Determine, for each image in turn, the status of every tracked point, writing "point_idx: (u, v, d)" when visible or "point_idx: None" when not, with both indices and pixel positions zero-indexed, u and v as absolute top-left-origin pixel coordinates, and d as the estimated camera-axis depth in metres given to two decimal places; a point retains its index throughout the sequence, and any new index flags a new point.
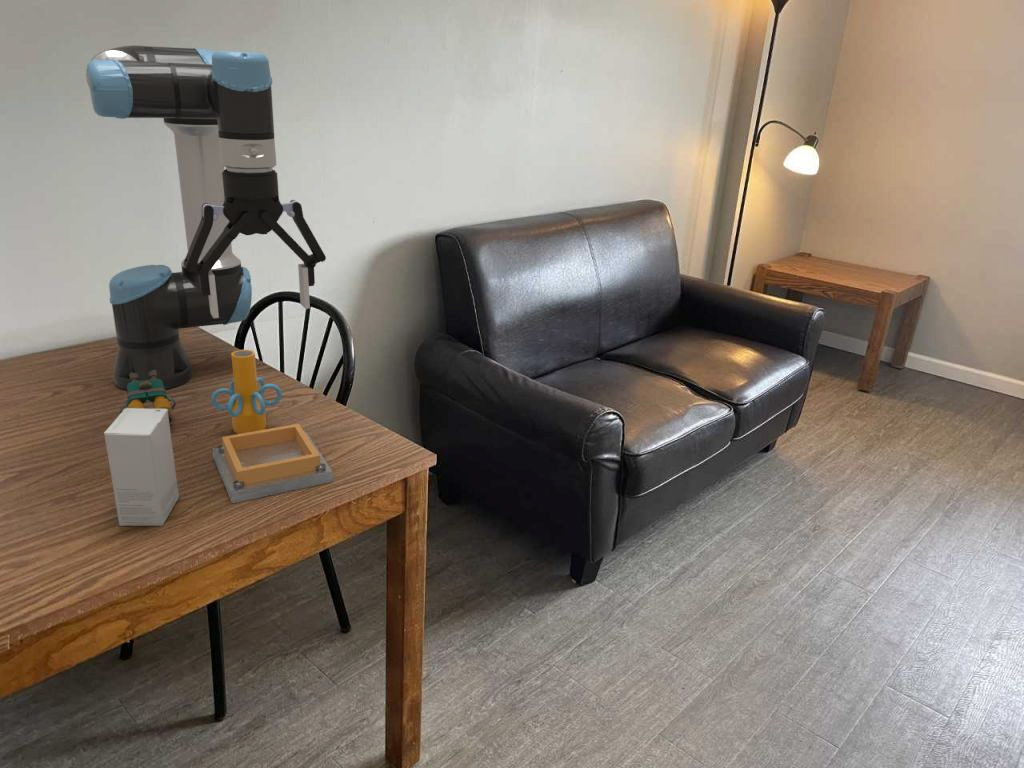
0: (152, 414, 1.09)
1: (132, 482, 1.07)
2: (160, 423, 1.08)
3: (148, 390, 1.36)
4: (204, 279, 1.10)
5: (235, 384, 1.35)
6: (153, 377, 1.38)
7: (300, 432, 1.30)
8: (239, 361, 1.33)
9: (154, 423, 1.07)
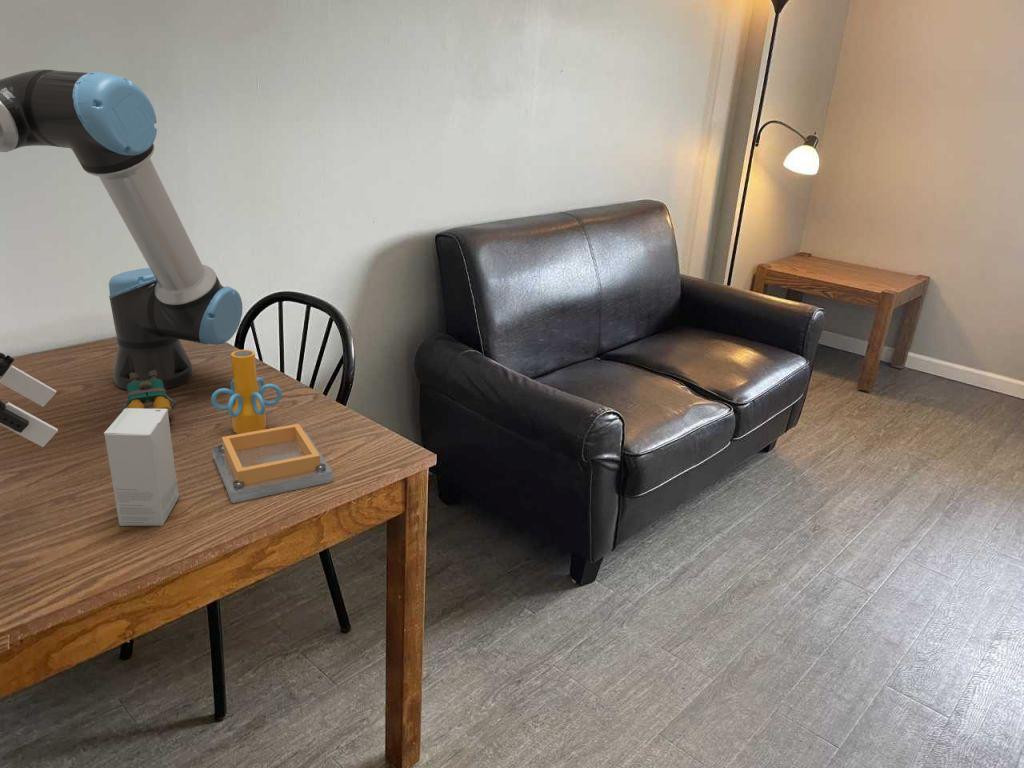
0: (152, 414, 1.09)
1: (132, 482, 1.07)
2: (160, 423, 1.08)
3: (148, 390, 1.36)
4: None
5: (235, 384, 1.35)
6: (153, 377, 1.38)
7: (300, 432, 1.30)
8: (239, 361, 1.33)
9: (154, 423, 1.07)
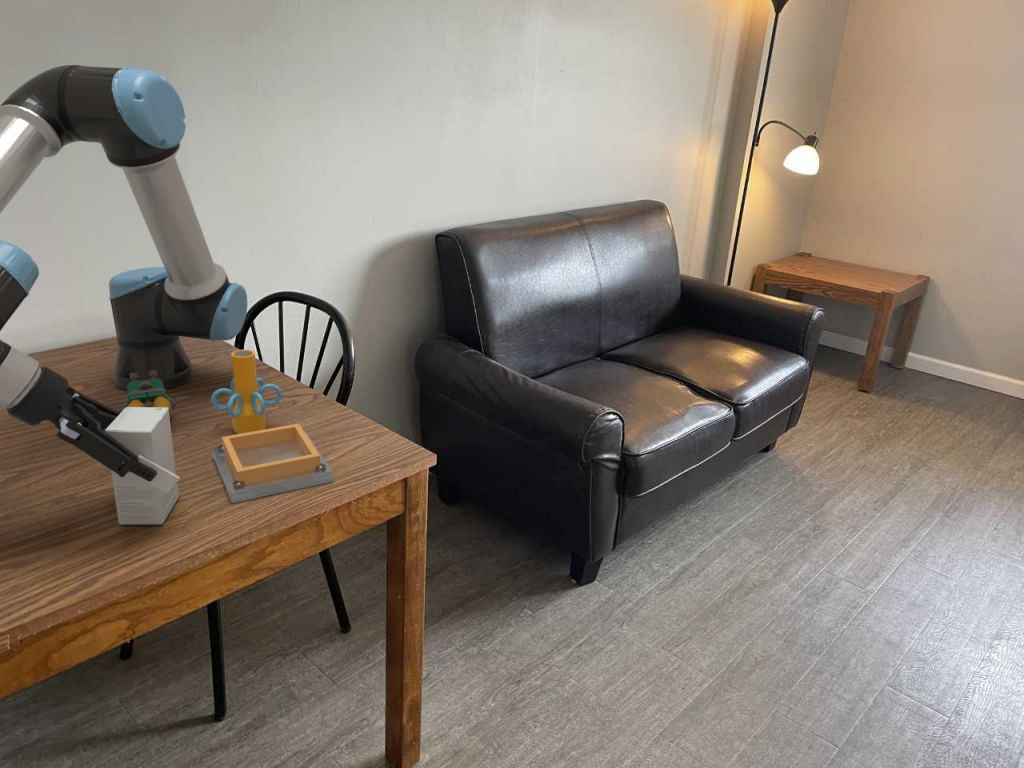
0: (153, 412, 1.10)
1: (132, 479, 1.07)
2: (161, 422, 1.09)
3: (148, 390, 1.36)
4: None
5: (235, 384, 1.35)
6: (153, 377, 1.38)
7: (300, 432, 1.30)
8: (239, 361, 1.33)
9: (155, 421, 1.07)
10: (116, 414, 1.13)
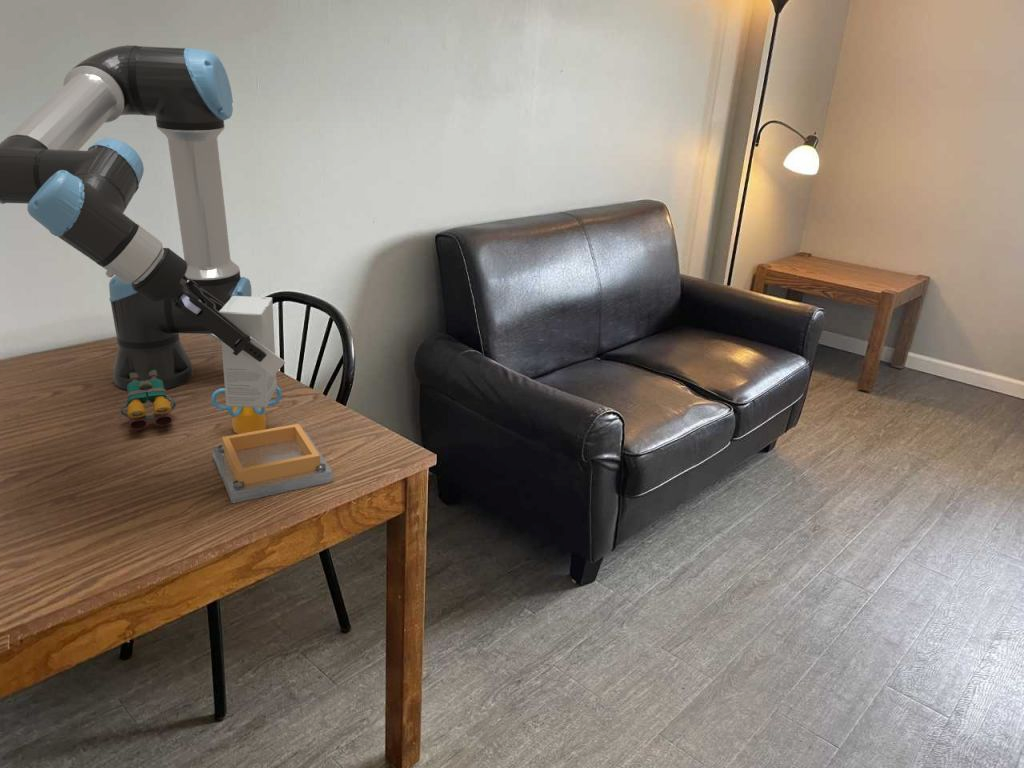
0: (259, 300, 1.16)
1: (242, 361, 1.13)
2: (268, 308, 1.14)
3: (148, 390, 1.36)
4: None
5: None
6: (153, 377, 1.38)
7: (300, 432, 1.30)
8: None
9: (263, 307, 1.13)
10: (222, 304, 1.19)
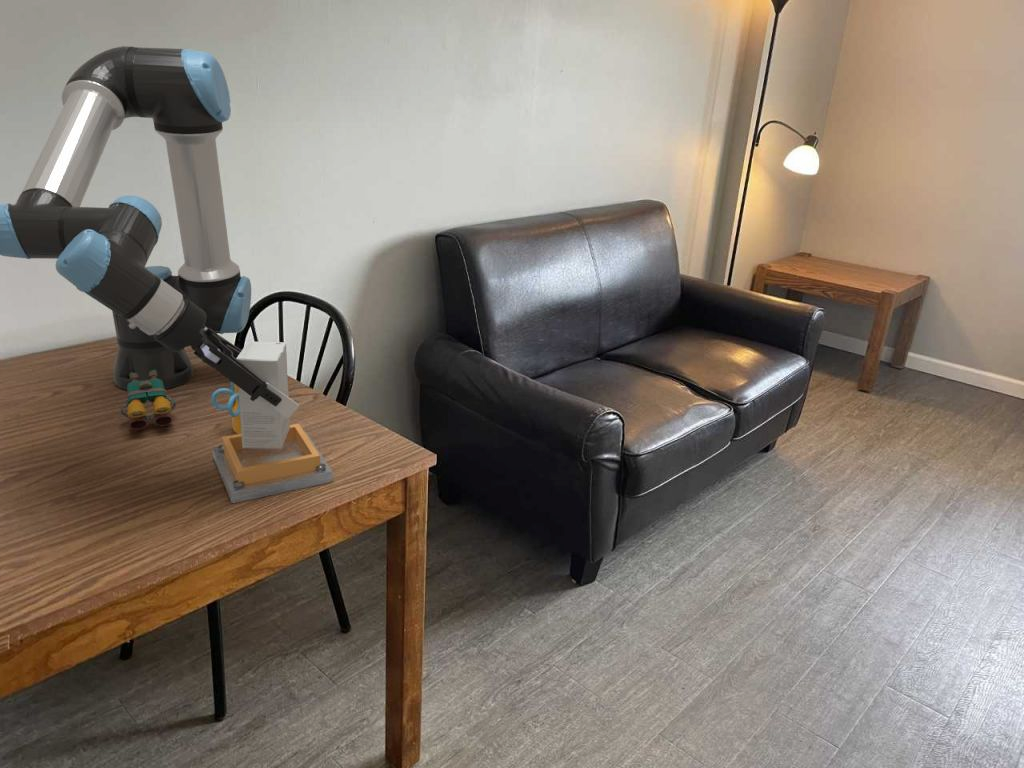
0: (274, 345, 1.20)
1: (258, 405, 1.17)
2: (282, 354, 1.19)
3: (148, 390, 1.36)
4: None
5: None
6: (153, 377, 1.38)
7: (300, 432, 1.30)
8: None
9: (278, 352, 1.18)
10: (237, 349, 1.23)
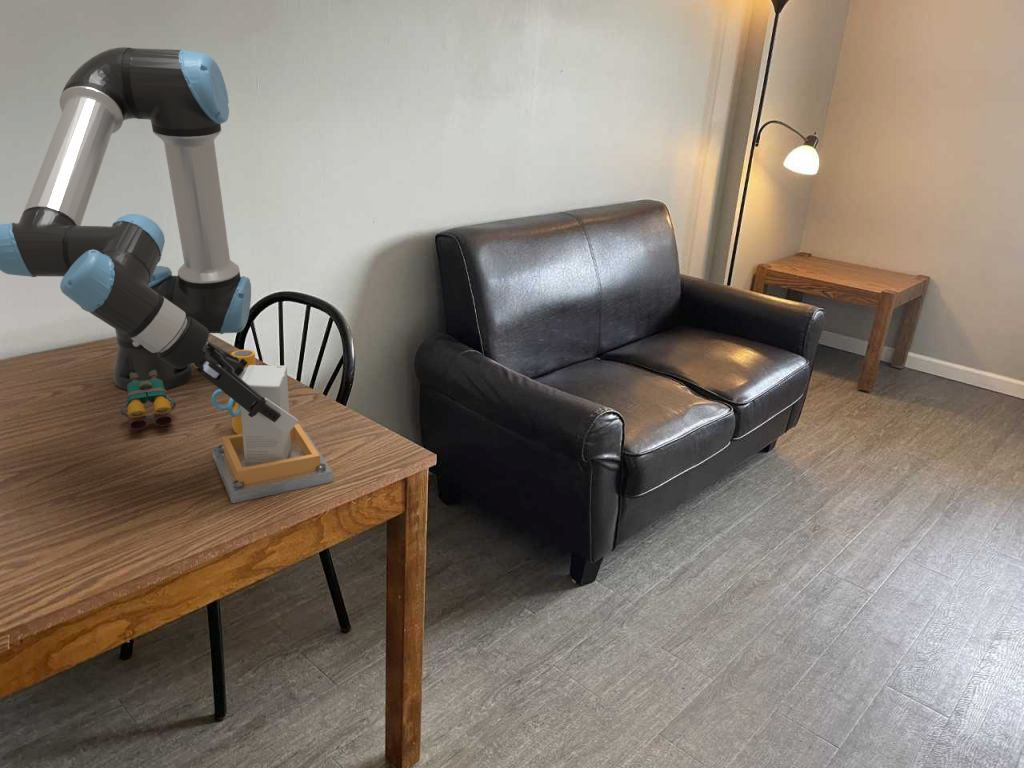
0: (275, 369, 1.22)
1: (260, 429, 1.19)
2: (284, 378, 1.21)
3: (148, 390, 1.36)
4: None
5: None
6: (153, 377, 1.38)
7: (300, 432, 1.30)
8: (239, 361, 1.33)
9: (280, 377, 1.19)
10: (233, 358, 1.25)
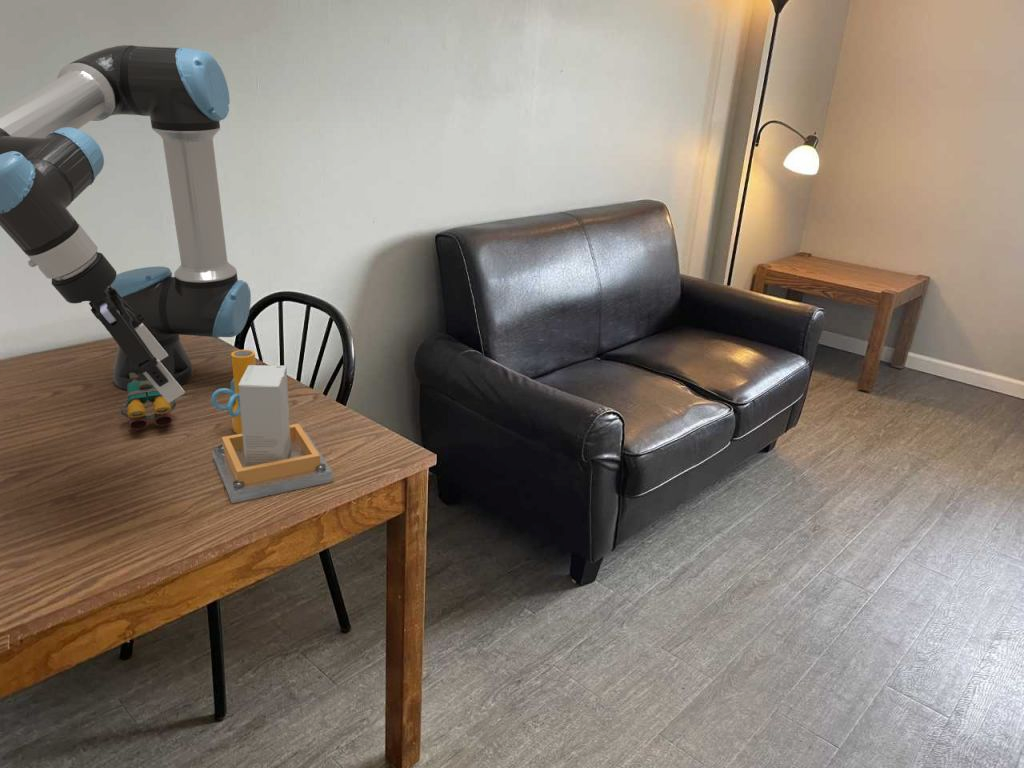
0: (274, 369, 1.22)
1: (260, 429, 1.19)
2: (283, 378, 1.21)
3: (148, 390, 1.36)
4: None
5: (235, 384, 1.35)
6: None
7: (300, 432, 1.30)
8: (239, 361, 1.33)
9: (279, 377, 1.19)
10: (130, 310, 1.17)
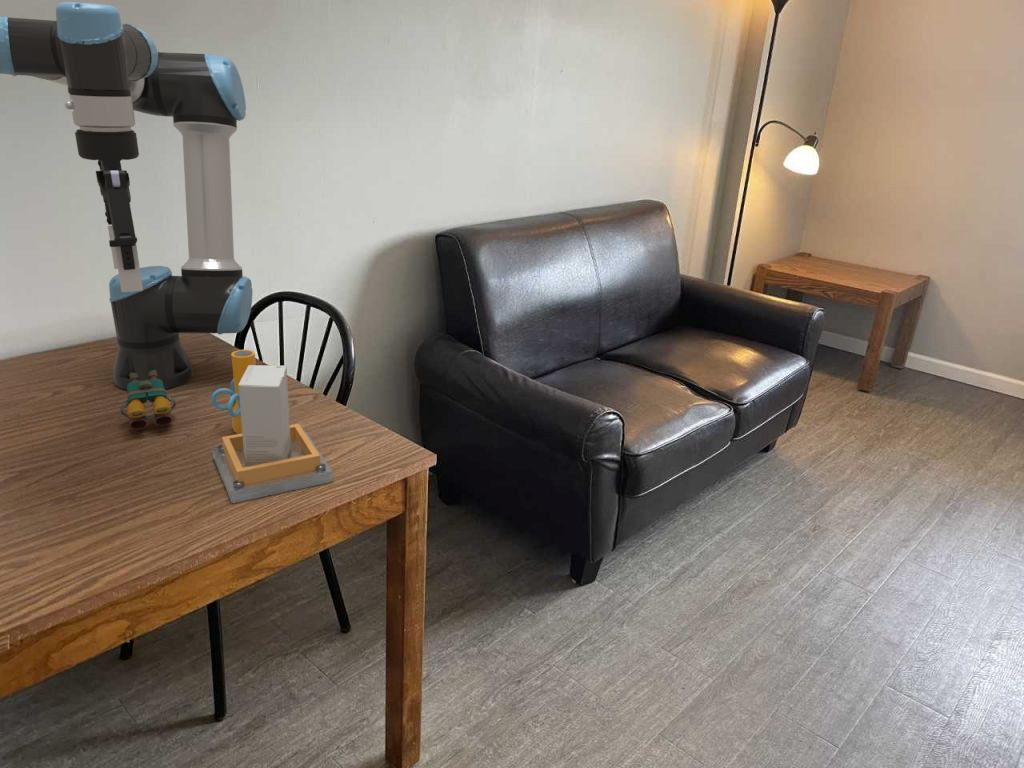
0: (274, 369, 1.22)
1: (260, 429, 1.19)
2: (283, 378, 1.21)
3: (148, 390, 1.36)
4: None
5: (235, 384, 1.35)
6: (153, 377, 1.38)
7: (300, 432, 1.30)
8: (239, 361, 1.33)
9: (279, 377, 1.19)
10: None
